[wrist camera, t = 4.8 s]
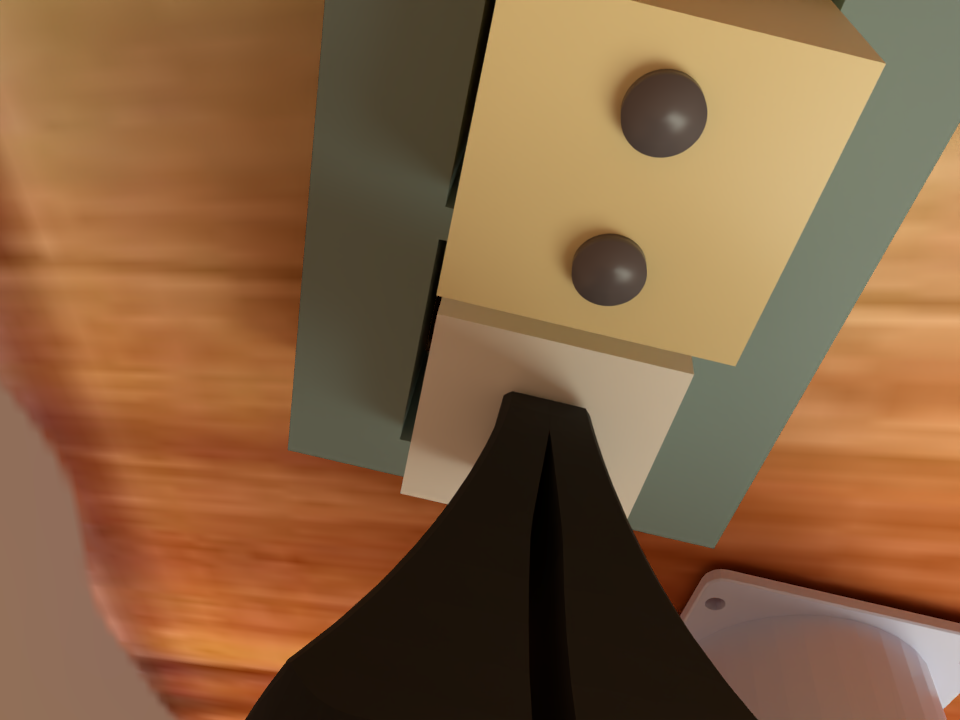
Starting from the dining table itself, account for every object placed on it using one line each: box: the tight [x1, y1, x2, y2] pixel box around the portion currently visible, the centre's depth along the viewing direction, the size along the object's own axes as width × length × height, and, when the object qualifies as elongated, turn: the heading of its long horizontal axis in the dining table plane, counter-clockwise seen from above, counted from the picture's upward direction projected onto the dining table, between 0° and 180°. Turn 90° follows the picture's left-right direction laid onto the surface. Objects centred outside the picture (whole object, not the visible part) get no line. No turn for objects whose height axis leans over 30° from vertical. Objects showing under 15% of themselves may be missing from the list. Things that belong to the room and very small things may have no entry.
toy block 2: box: [400, 297, 694, 519], centre depth 16 cm, size 4×4×5 cm
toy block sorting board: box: [288, 0, 960, 549], centre depth 13 cm, size 17×9×3 cm, turn 168°
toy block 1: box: [436, 0, 886, 366], centre depth 11 cm, size 4×4×5 cm
